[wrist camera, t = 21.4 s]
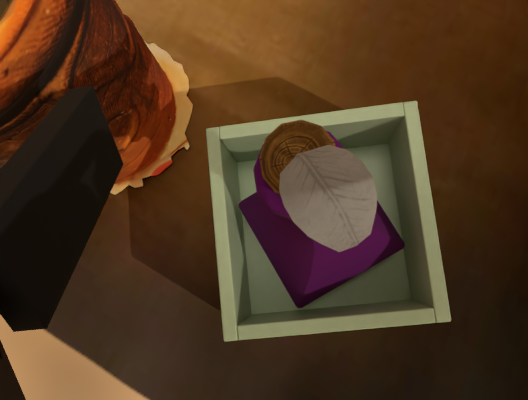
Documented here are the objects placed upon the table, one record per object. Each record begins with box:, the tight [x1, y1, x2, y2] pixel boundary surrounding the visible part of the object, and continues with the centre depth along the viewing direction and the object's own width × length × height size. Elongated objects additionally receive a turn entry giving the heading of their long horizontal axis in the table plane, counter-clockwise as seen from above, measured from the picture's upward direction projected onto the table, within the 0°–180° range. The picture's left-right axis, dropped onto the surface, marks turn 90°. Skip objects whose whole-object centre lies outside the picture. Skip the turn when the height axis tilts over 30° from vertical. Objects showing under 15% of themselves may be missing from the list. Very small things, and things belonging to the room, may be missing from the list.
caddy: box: [206, 101, 451, 341], centre depth 29 cm, size 12×12×7 cm
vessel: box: [0, 0, 193, 195], centre depth 26 cm, size 14×14×20 cm
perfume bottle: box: [239, 120, 405, 308], centre depth 23 cm, size 8×8×18 cm
